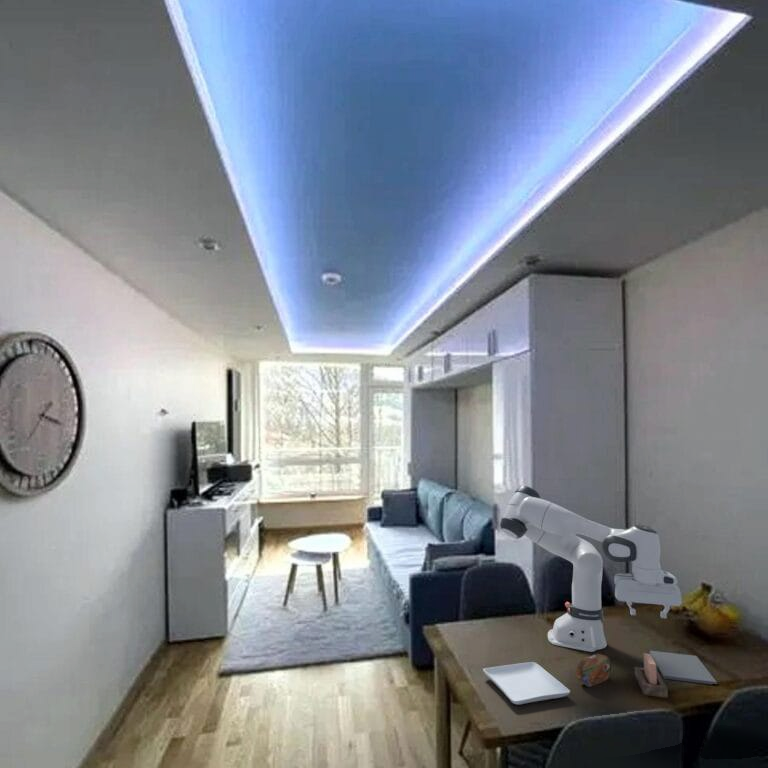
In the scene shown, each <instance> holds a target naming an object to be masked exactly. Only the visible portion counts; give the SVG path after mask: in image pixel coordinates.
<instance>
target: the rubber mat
mask: <svg viewBox="0 0 768 768" xmlns="http://www.w3.org/2000/svg"><path fill="white" fill-rule="evenodd" d="M649 654H650V655H651V657H652V658H653V660H654V662H655V664H656V668H658V670H659V672H660V674H661V675H662V677H663V678H664V679H665V680H672V681H673V680H674V681H682V682H687V683H695V684H696V683H697V684H705V685H712V684H716V685H715V686H717V685H718V683H717V681H716V679H715V678H714V677H713V675H712V674H711V673H710V671H709V670H708V669H707V668H706V666H705V665H704V664H703V662H702V661H701V660H700V659H699V657H698V655H693V654H683V653H674V652H665V651H656V650H649Z"/></svg>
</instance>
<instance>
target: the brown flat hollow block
mask: <svg viewBox="0 0 768 768" xmlns="http://www.w3.org/2000/svg"><path fill="white" fill-rule="evenodd" d="M656 676H657V685H655V684H647V682H646V680H645V678H644V667H640V666H634V677H635V679H636V681H637V682H638V685H639V688H640V689H641V692H642V694H643V696H648V697H649V696H651V697H658V698H665V699H668V697H669V696H668V695H669V694H668V687H667V685H666V683H665V682H664V680H663V678H662V676H661V673H659V671H658V670H657V668H656Z"/></svg>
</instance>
